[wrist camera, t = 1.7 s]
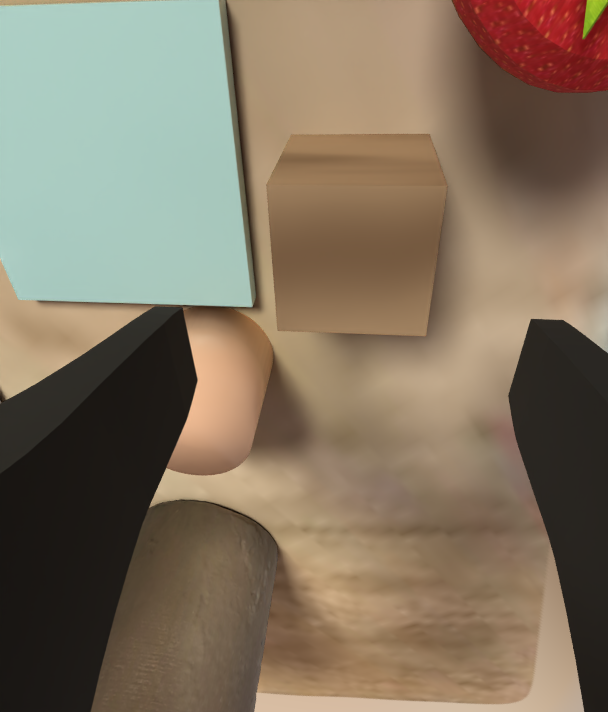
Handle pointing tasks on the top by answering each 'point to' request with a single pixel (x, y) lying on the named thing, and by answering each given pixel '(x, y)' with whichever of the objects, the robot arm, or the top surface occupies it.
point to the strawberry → (543, 40)
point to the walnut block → (356, 232)
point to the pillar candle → (190, 614)
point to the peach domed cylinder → (222, 390)
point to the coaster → (122, 155)
